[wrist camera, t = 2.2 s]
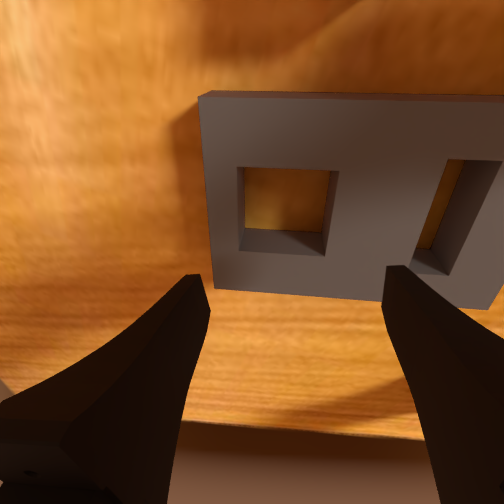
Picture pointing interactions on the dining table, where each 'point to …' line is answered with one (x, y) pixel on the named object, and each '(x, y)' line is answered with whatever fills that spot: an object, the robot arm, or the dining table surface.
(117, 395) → the robot arm
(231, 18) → the dining table surface
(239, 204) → the socket block
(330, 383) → the dining table surface
